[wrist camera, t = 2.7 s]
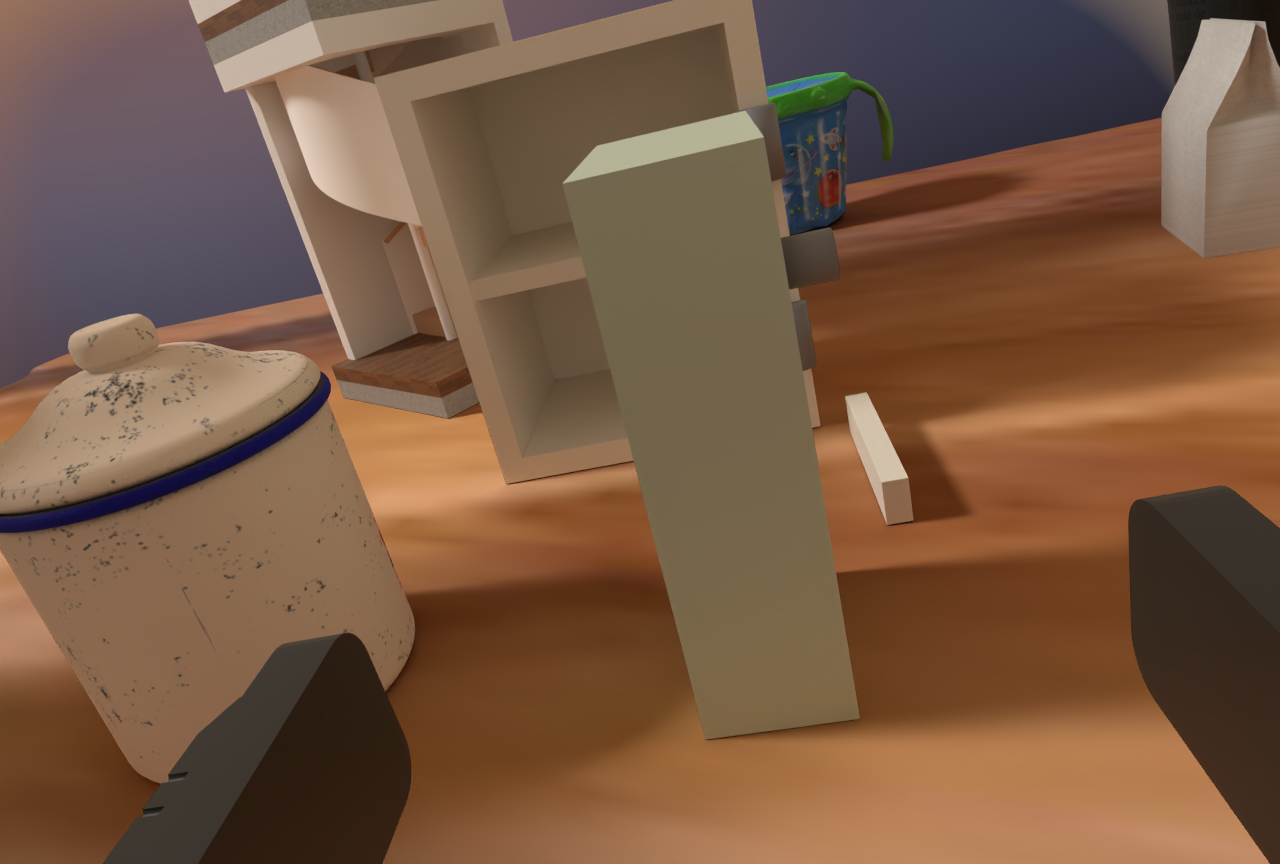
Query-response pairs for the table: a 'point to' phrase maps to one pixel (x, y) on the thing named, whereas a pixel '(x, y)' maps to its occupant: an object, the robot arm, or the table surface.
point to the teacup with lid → (191, 529)
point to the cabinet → (541, 222)
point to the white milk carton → (1224, 143)
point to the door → (720, 413)
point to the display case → (357, 171)
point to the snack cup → (818, 145)
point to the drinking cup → (1191, 3)
